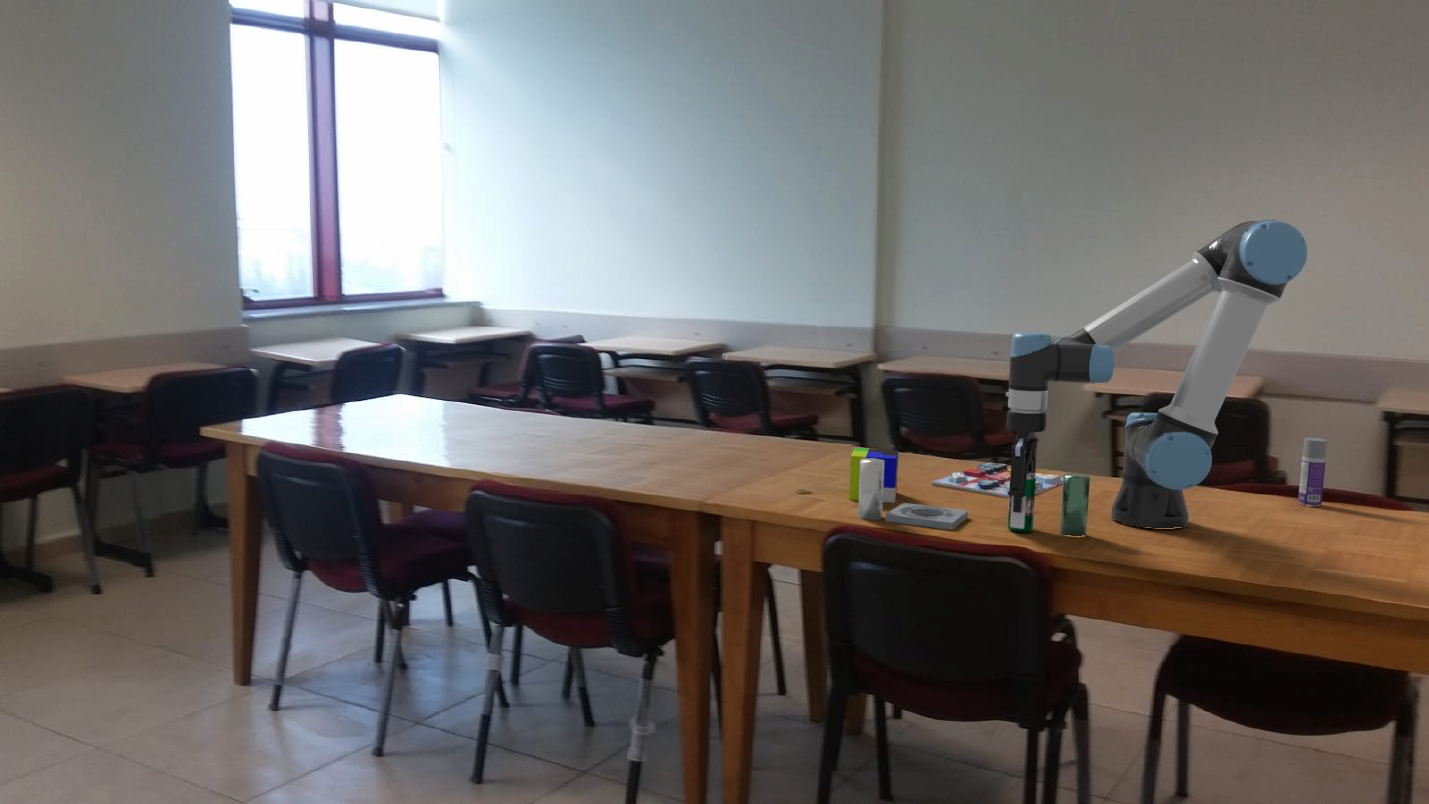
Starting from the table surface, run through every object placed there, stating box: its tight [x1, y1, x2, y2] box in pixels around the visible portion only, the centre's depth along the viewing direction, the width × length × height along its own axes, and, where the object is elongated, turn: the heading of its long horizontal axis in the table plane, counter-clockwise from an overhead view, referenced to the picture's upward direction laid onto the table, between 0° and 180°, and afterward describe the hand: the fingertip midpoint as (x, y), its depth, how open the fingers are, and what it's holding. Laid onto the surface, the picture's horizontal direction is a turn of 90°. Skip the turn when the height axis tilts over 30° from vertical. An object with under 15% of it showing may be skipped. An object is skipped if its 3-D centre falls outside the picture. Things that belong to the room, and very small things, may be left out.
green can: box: [1059, 472, 1091, 536], centre depth 227 cm, size 5×5×12 cm
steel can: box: [857, 458, 884, 521], centre depth 238 cm, size 5×5×12 cm
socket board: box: [884, 502, 969, 531], centre depth 238 cm, size 14×12×2 cm
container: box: [1297, 437, 1328, 506], centre depth 257 cm, size 5×5×15 cm
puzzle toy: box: [848, 447, 899, 504], centre depth 258 cm, size 10×10×10 cm
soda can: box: [1007, 471, 1036, 534], centre depth 229 cm, size 5×5×12 cm
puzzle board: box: [931, 462, 1063, 499], centre depth 276 cm, size 30×23×3 cm
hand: (1020, 524), depth 230 cm, fingers closed on soda can, 5 cm apart
